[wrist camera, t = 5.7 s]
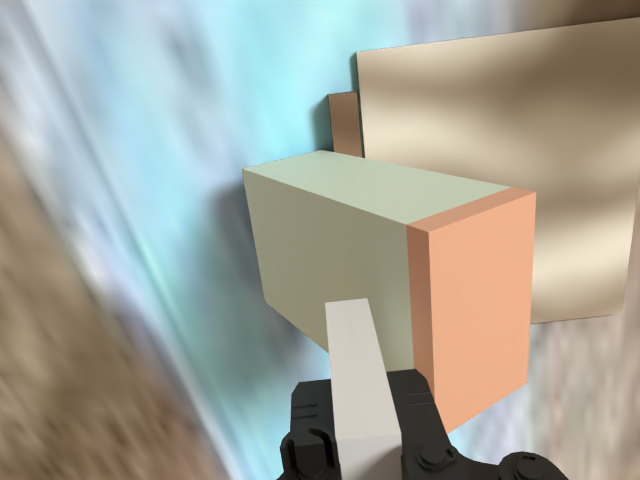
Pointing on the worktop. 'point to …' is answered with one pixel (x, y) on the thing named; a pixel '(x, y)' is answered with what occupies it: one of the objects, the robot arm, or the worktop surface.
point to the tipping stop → (521, 140)
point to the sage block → (403, 266)
